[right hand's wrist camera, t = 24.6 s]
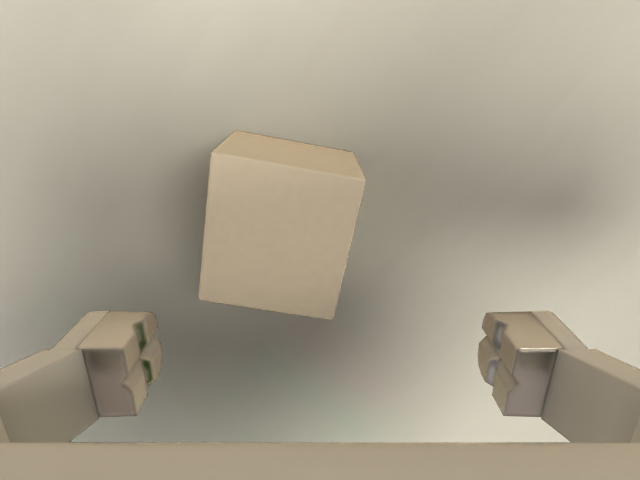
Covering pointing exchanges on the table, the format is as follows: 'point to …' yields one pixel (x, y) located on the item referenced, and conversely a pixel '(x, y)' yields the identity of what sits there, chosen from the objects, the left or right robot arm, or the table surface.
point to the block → (279, 224)
